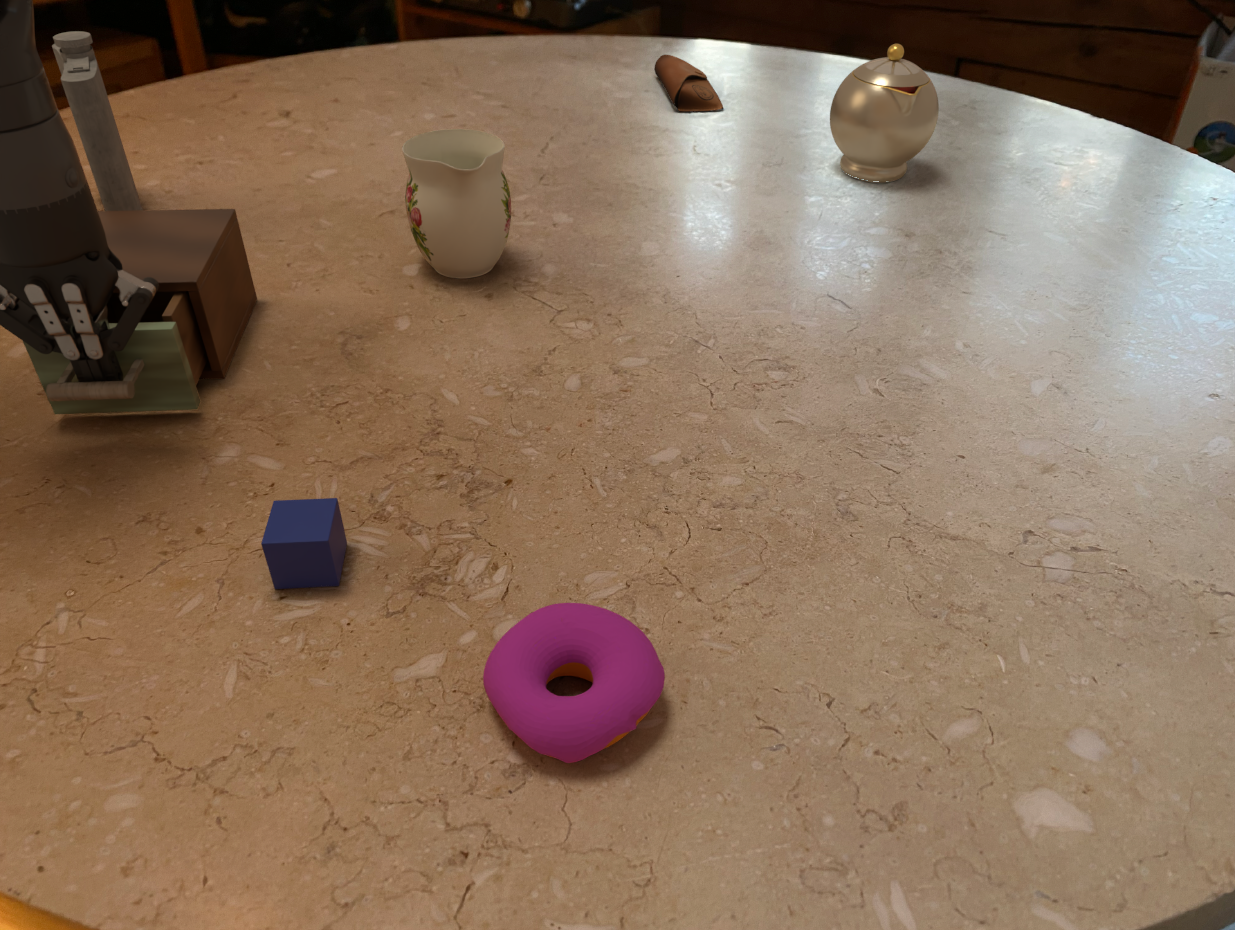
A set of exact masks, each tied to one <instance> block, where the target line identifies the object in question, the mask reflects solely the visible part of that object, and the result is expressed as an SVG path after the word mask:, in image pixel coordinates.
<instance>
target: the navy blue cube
mask: <svg viewBox="0 0 1235 930" xmlns="http://www.w3.org/2000/svg"><path fill="white" fill-rule="evenodd" d="M340 508H341V507H340V504H339V499H338V497H327V498H326V497H325V498H304V499H303V498H302V499H281V500H280V499H279V500H273V501H272V505H271V509H270V511H269V515H268V519H267V523H266V525H265V528H264V532H263V536H262V538H261V543H260V545H261V548H262V552H263V553H264V558H265V560H266V565H267V569H268V571H269V575H270V579H271V581H272V585H273V589H274V590H287V589H288V590H289V589H307V588H325V587H327V588H329V587H339V586H340V582H341V578H342V572H343V566H344V563H345V562H344V561H345V558H346V557H345V556H346V551H347V545H348V541H347V536H346V532H345V531H346V530H345V527H344V522H343V518H342V513H341V512H342V511H341V509H340Z"/></svg>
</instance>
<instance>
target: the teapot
mask: <svg viewBox="0 0 1235 930" xmlns="http://www.w3.org/2000/svg"><path fill="white" fill-rule="evenodd" d="M886 55H887V56H886V57H885V56H884V57H879V58H875V59H871V60H869V61H866V62H864V63H862V64H860V65H859V66H857V67H856V68H854V69H853V70H852V71H851V72H850V73H849V74H848V75H847V76H846V77H845V78H844V79H843V80H842V81H841V83H840V84H839V86H838V88H837V89H836V90H835V93H834V96H833V98H832V102H831V105H830V111H829V127H830V132H831V136H832V138H833V141H834V143H835V145H836V147H837V148H838V150H839V151H840V152H841V154H842V156H841V157H840V160H839V166H840V169H841V170H842V172H843V171H844V172H843V173H844V174H846V173H847V174H846V175H847V176H848V177H850V178H853V179H855V180H858V181H861V182H867V183H874V184H875V183H876V184H877V183H878V184H884V183H887V182H886V181H889V182H888V183H891V182H895V181H898V180H901V178H903V177H904V176H905V175H906V173H907V171H908V163H907V162H909V161H910V160H912V159H913V158H914V157H916V156H917V155H918V154H920V152H921V151H922V150H924V148H925V147H926V145H927V144H928V143H929V141H930V139H931V138H932V137H933V135H934V132H935V129H936V128H937V127H936V126H937V123H938V118H939V111H940V110H939V109H940V107H939V106H940V105H939V98H938V97H939V96H938V94H937V90H936V87H935V85H934V83H933V81H932V80H931V77H929V75H928V74H927V73H926V72H925V70H923V69H922V68H921V67H919V66H918V65H917V64H915V63H914V62H912V61H910V60H907V59H904V58H903V57H904V55H905V49H904V46H903V45H902V44H900V43H894V44H891V45H890V46H889V47H888V48H887V52H886ZM848 174H849V175H851V176H849V175H848ZM852 176H853V177H852ZM854 177H857V178H859V179H857V178H854ZM861 179H864V180H861ZM865 180H868V181H865ZM873 181H879V182H873Z"/></svg>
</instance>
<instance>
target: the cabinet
mask: <svg viewBox="0 0 1235 930" xmlns="http://www.w3.org/2000/svg"><path fill="white" fill-rule="evenodd" d="M97 211H98V214H99V217H100V219H101V222H102V225H103V228H104V231H105V235H106V240H107V244H108V246H109V248H110V250H111V251H112V252H113V254H114V255H115V256H116V257H117V258H118V259H119V260H120V262H121V264H122V267H123V270H124V271H125V272H127V273H129V274H131V275H133V276H135V277H137V278H139V279H141V280H143V279H144V278H146V277H151V278H154V279H155V280H157V282H158V283H159V288H158V290H157V292H173V291H188V292H189V296H190V299H191V302H192V306H193V309H194V313H195V316H196V319H197V323H198V326H199V329H200V333H201V336H202V340H203V343H204V346H205V350H206V353H207V356H208V360H207V363H206V365H205V367H204V369H203V371H202V374H201V376H200V378H199V380H198V381H200V380H224V379H225V377H226V375H227V372H228V371H229V368H230V366H231V363H232V360H233V359H234V356H235V354H236V351H237V349H238V346H239V344H240V341H241V339H242V337H243V334H244V332H245V329H246V327H247V324H248V322H249V320H250V317H251V315H252V313H253V311H254V310H253V309H255V305H256V303H257V300H258V296H257V292H256V289H255V284H254V280H253V276H252V272H251V268H250V263H249V260H248V256H247V251H246V248H245V244H244V240H243V235H242V231H241V227H240V222H239V219H238V215H237V211H236V208H202V209H200V208H199V209H196V208H195V209H145V210H144V209H143V210H135V211H105V210H97ZM113 293H120V290H119V288H118V287H117V286H116V287H115V289H114V291H113Z"/></svg>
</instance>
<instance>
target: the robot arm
mask: <svg viewBox="0 0 1235 930" xmlns="http://www.w3.org/2000/svg"><path fill="white" fill-rule="evenodd" d="M56 102H57V101H56V99H55V96H54V94H53V90H52V88H51V85H50V81H49V79H48V76H47V73H46V70H45V68H44V64H43V62H42V60H41V57H40V55H39V52H38V47H37V44H36V34H35V9H34V0H0V327H2V328H4V329H5V330H7V331H8V332H9V333H11V334H13V335H14V336H15V337H17V338H18V339H20V340H21V341H22V342H23V341H24V342H25V343H27V344H28V345H30V346H31V347H33V348H34V349H35V350H37V351H38V352H40V353H42V354H50V353H51V352H52V351H53V352H57V353H61V354H63V355H64V357H66V358H67V359H69V360H70V362H71V364H72V367H73V369H74V371H75V374H76V375H77V379H78V381H79V382H100V381H123V373H122V370H121V367H120V365H119V362H118V359H117V356H116V354H115V351H122V350H123V349H124V348H125V346H126V344H127V342H128V341H129V339H130V337H131V335H132V334H133V332H134V330H135V329H136V327H137V325H138V323H139V322H140V320H141V318H142V316H143V315H144V313H145V311H146V309H147V308H148V306H149V304H150V302H151V301H152V299H153V297H154V295H155V294H156V292H157V290H158V288H159V283H158V282H157V280H155V279H154V278H151V277H146V278H144V279H143V280H141V279H139V278H137V277H135V276H133V275H131V274H129V273H127V272H125V271H124V270H123V267H122V264H121V262H120V260H119V259H118V258H117V257H116V256H115V255H114V254H113V252H112V251H111V250H110V248H109V246H108V244H107V240H106V235H105V231H104V228H103V225H102V222H101V219H100V217H99V214H98V211H99V210H98V208H97V205H96V202H95V199H94V197H93V194H92V191H91V188H90V185H89V182H88V178H87V177H86V173H85V171H84V168H83V165H82V162H81V159H80V156H79V153H78V150H77V148H76V145H75V142H74V140H73V138H72V137H73V136H72V135H71V134H70V131H69V129H68V128H67V126H66V124H65V122H64V119H63V117H62V116H61V113H60V110H59V108H58V105H57V103H56ZM116 286H117V287H118V288H119V290H120V296H119V298H120V301H121V302H122V305H123V306H127V308H126V309H125V311H124V313H123V315H122V316H121V318H120V320H119V322H118V324H117V325H116V327H113V328H111V329H110V326H109V323H108V308H107V303H108V301H109V299H110V297H111V295H112V293H113V291H114V289H115V287H116Z"/></svg>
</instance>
